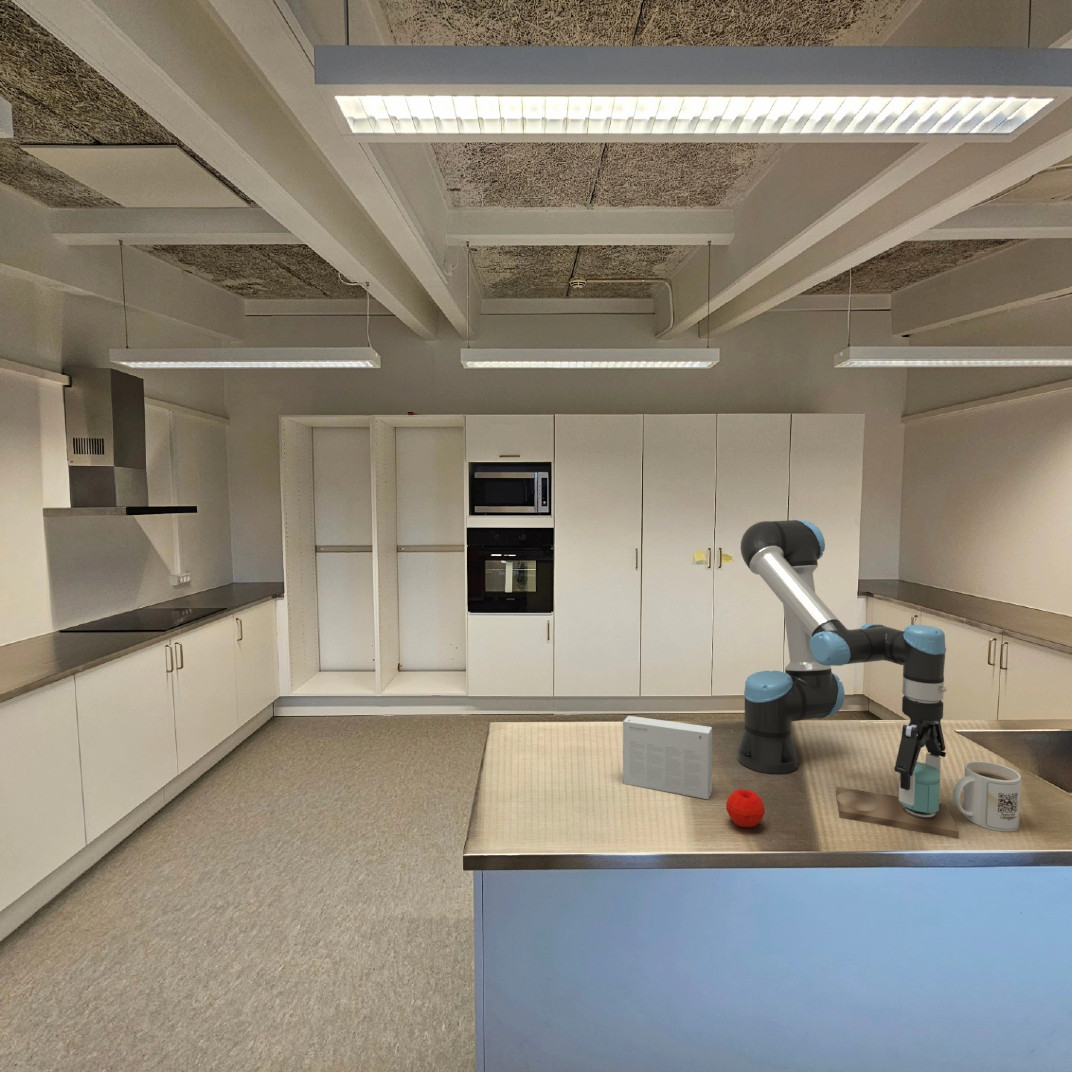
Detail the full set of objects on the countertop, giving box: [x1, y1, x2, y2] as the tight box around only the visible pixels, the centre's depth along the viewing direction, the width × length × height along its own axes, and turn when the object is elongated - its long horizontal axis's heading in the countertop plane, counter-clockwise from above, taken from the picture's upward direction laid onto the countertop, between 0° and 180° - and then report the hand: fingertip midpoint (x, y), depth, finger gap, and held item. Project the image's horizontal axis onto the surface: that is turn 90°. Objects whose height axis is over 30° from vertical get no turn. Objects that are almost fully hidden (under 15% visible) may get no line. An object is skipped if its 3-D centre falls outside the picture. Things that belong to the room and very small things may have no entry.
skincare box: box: [622, 715, 713, 800], centre depth 148 cm, size 21×5×16 cm, turn 65°
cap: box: [901, 761, 941, 813], centre depth 133 cm, size 7×7×8 cm
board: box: [835, 786, 959, 839], centre depth 135 cm, size 22×12×2 cm, turn 67°
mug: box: [952, 760, 1022, 833], centre depth 132 cm, size 10×12×11 cm
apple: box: [725, 789, 766, 828], centre depth 131 cm, size 8×8×7 cm
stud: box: [903, 805, 936, 819], centre depth 133 cm, size 6×6×8 cm
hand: (919, 793), depth 133 cm, fingers open, 13 cm apart
